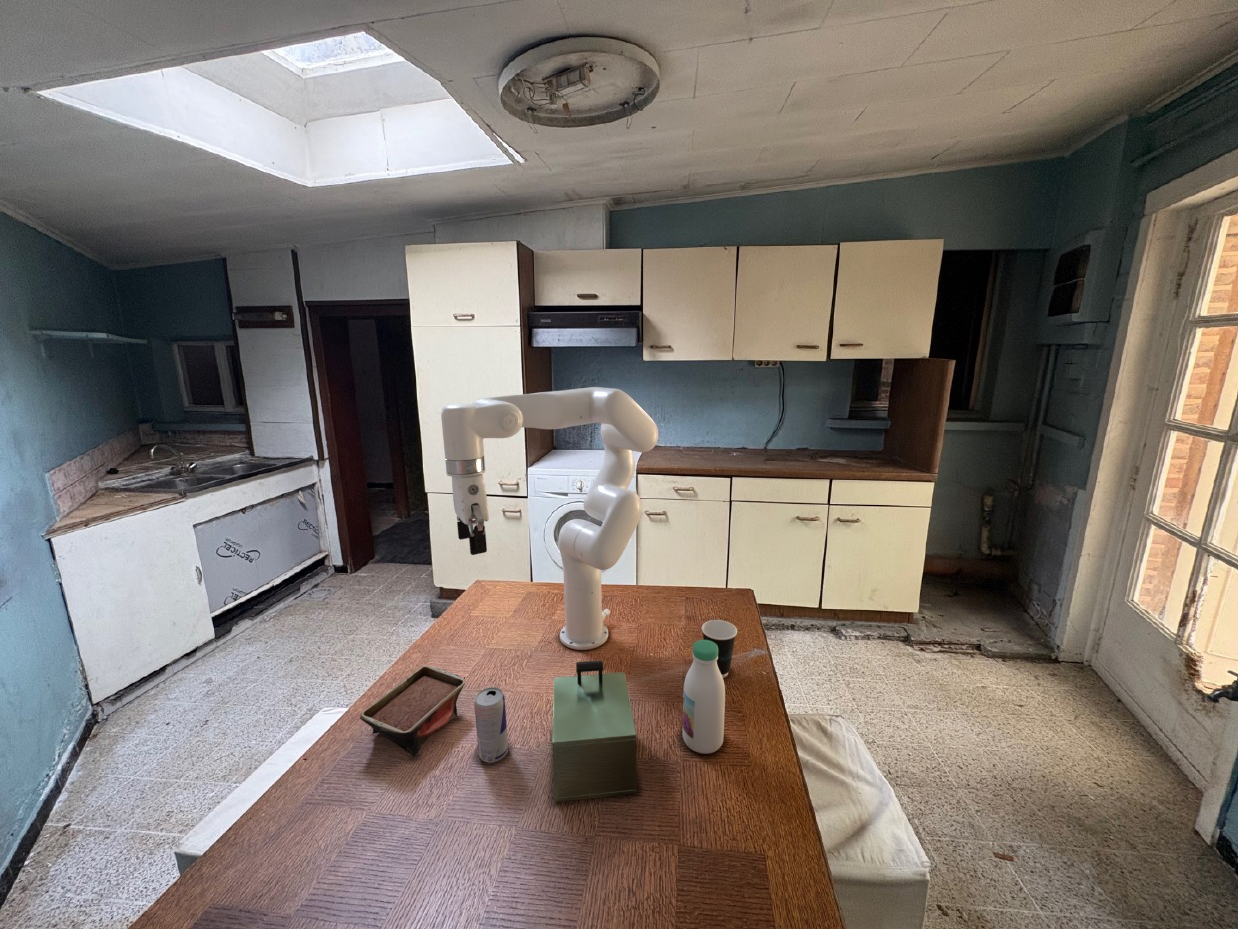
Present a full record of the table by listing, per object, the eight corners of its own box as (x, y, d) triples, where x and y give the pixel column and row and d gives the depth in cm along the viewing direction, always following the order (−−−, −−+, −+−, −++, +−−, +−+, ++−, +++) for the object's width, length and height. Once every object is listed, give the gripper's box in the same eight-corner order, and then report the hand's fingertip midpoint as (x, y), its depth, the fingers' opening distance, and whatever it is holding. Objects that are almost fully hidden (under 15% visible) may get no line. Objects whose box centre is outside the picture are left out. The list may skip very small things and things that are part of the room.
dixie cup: (703, 658, 120) (704, 617, 118) (737, 665, 118) (739, 622, 115) (697, 678, 113) (698, 635, 111) (732, 686, 111) (734, 641, 108)
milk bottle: (725, 729, 98) (729, 638, 93) (720, 759, 91) (724, 662, 86) (686, 720, 100) (688, 631, 96) (678, 749, 93) (680, 653, 89)
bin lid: (554, 681, 96) (553, 657, 95) (624, 675, 97) (624, 652, 96) (552, 746, 80) (551, 719, 79) (636, 738, 82) (636, 712, 80)
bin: (556, 732, 98) (554, 684, 95) (625, 726, 99) (624, 678, 97) (555, 802, 83) (552, 747, 80) (636, 793, 84) (636, 739, 82)
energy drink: (512, 742, 95) (508, 687, 93) (503, 765, 90) (498, 707, 87) (484, 740, 96) (480, 685, 93) (474, 763, 91) (469, 705, 88)
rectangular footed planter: (474, 722, 103) (473, 675, 103) (400, 773, 88) (399, 718, 87) (425, 705, 110) (424, 660, 109) (348, 750, 94) (347, 698, 94)
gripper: (497, 471, 95) (502, 555, 99) (472, 456, 110) (478, 529, 114) (456, 477, 92) (464, 564, 95) (437, 460, 106) (444, 536, 110)
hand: (472, 545), depth 105 cm, fingers open, 9 cm apart
